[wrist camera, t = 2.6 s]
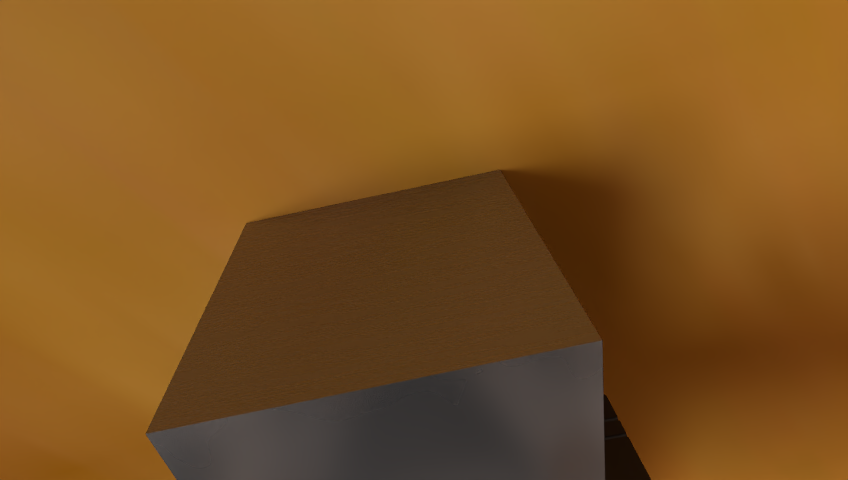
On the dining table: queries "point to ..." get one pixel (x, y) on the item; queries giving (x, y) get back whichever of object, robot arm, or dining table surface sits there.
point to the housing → (390, 349)
